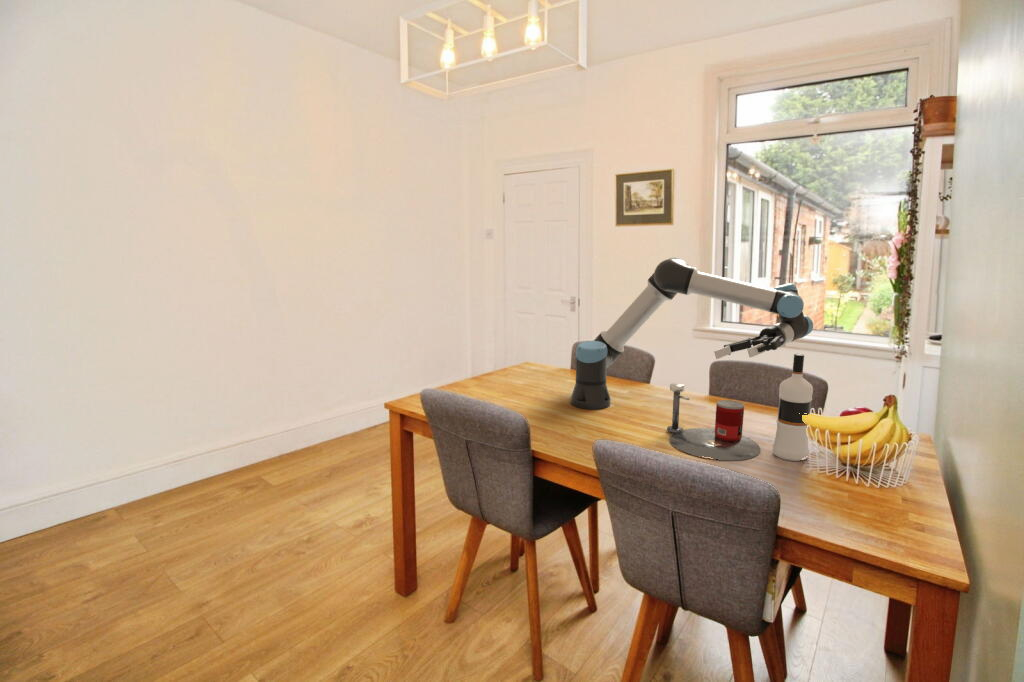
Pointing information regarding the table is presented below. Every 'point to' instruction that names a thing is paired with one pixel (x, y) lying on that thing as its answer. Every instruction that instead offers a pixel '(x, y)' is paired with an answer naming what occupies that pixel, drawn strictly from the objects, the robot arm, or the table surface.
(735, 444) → the turntable
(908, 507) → the table surface
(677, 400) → the faucet
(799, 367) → the vodka
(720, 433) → the canned food
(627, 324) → the robot arm
